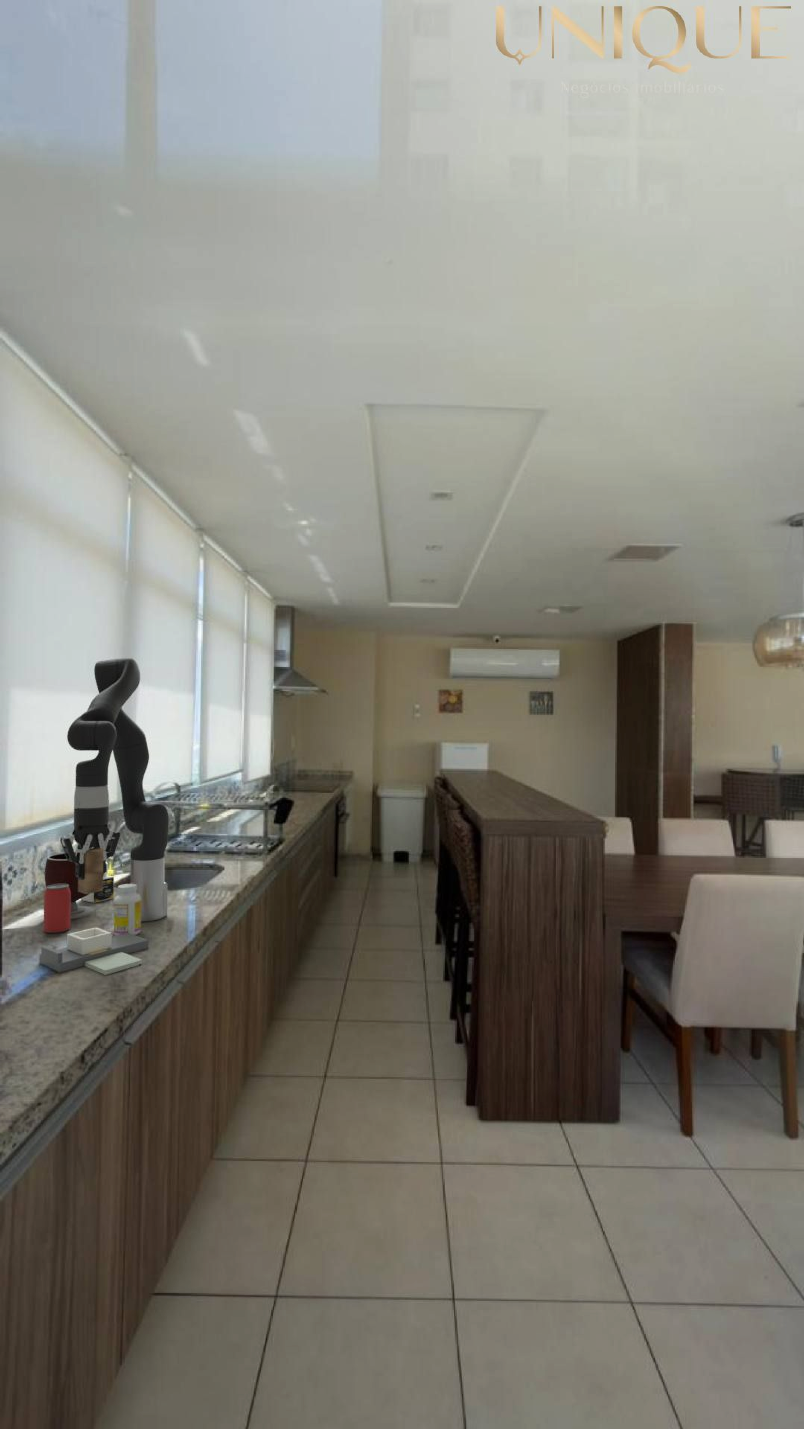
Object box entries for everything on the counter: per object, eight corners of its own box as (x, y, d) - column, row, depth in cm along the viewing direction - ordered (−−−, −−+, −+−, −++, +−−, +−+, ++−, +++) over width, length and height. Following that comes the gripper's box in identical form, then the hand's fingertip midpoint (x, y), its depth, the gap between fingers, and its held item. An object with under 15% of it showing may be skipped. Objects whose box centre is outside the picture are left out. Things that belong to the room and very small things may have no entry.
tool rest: (121, 956, 167) (121, 951, 167) (142, 964, 161) (142, 959, 161) (84, 966, 160) (84, 961, 160) (105, 974, 154) (105, 970, 154)
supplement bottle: (136, 928, 189) (137, 881, 190) (143, 934, 184) (144, 886, 184) (111, 933, 186) (111, 884, 186) (117, 939, 180) (117, 889, 180)
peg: (94, 888, 167) (95, 846, 168) (102, 891, 165) (103, 848, 165) (78, 891, 164) (78, 849, 164) (86, 894, 162) (86, 851, 162)
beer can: (76, 928, 190) (76, 884, 190) (57, 934, 184) (57, 889, 184) (57, 925, 192) (57, 882, 193) (37, 932, 186) (38, 887, 186)
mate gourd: (83, 920, 198) (83, 850, 198) (34, 920, 198) (35, 849, 198) (107, 906, 213) (107, 841, 213) (62, 906, 213) (62, 840, 214)
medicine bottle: (93, 903, 217) (94, 864, 217) (80, 900, 221) (80, 862, 221) (114, 898, 223) (114, 860, 223) (100, 895, 227) (100, 858, 227)
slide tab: (96, 941, 171) (96, 927, 172) (111, 947, 167) (111, 932, 167) (67, 948, 166) (67, 934, 166) (82, 955, 161) (82, 939, 161)
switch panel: (127, 940, 179) (127, 924, 179) (148, 947, 173) (148, 931, 173) (39, 963, 162) (39, 945, 162) (59, 972, 156) (59, 954, 156)
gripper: (112, 801, 173) (111, 871, 172) (53, 806, 162) (52, 880, 161) (127, 803, 168) (127, 875, 168) (68, 808, 157) (67, 885, 157)
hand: (90, 877), depth 165 cm, fingers closed on peg, 4 cm apart
